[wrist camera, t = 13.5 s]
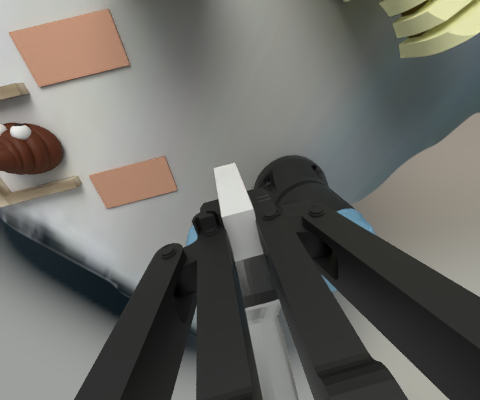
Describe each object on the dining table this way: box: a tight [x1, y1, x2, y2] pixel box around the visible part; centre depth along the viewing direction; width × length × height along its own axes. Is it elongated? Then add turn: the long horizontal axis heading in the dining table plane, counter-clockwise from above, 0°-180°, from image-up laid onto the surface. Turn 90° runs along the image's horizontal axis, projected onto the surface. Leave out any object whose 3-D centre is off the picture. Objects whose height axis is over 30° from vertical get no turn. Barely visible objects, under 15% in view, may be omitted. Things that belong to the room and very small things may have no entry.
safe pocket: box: [0, 83, 81, 207], centre depth 40 cm, size 17×14×2 cm
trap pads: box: [9, 9, 177, 209], centre depth 41 cm, size 29×14×1 cm, turn 12°
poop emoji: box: [0, 123, 63, 175], centre depth 37 cm, size 10×8×9 cm
